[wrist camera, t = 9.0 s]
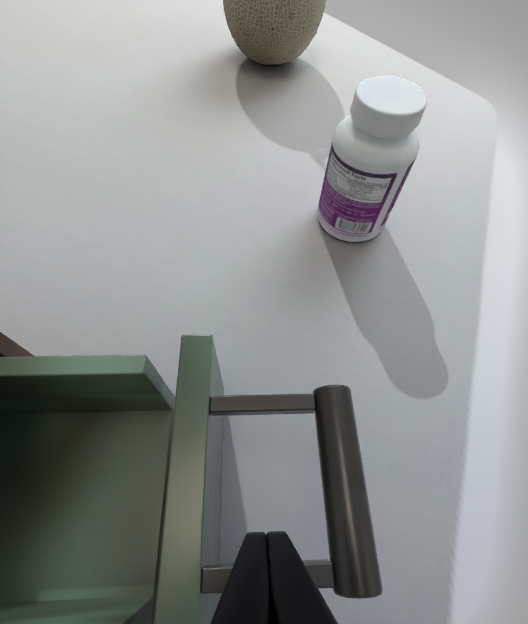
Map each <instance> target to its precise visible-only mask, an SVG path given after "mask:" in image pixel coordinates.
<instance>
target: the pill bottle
mask: <svg viewBox="0 0 528 624" xmlns="http://www.w3.org/2000/svg"><path fill="white" fill-rule="evenodd" d="M426 104H427V96H426V94H425V92H424V91H423V90H422V88H420V87H419V86H418V85H417V84H415V83H413V82H411V81H409V80H406V79H404V78H400V77H395V76H374V77H370V78H367V79H365V80H363V81H362V82H360V83H359V85H358V86H357V88H356V91H355V95H354V98H353V102H352V105H351V108H350V112H351V114H350V115H348V116H347V117H345V118H344V119H343V120H342V121H341V122H340V123H339V125H338V126H337V128H336V130H335V133H334V136H333V139H332V145H331V149H330V154H329V158H328V163H327V167H326V172H325V177H324V182H323V186H322V191H321V195H320V200H319V206H318V219H319V221H320V223H321V225H322V227H323V228H324V229H325V230H326V231H327V232H328V233H329V234H330V235H332V236H334V237H335V238H337V239H340V240H344V241H349V242H360V241H367V240H369V239H372V238H374V237H375V236H377V235H378V234H379V233H380V232H381V230H382V229H383V227H384V225H385V223H386V221H387V219H388V217H389V214H390V212H391V210H392V208H393V206H394V204H395V202H396V200H397V197H398V195H399V193H400V191H401V189H402V187H403V184H404V182H405V180H406V178H407V176H408V174H409V172H410V170H411V167H412V165H413V163H414V161H415V159H416V157H417V154H418V150H419V137H418V134H417V131H416V129H415V128H416V127H417V126H418V124H419V123H420V120H421V117H422V115H423V113H424V110H425V107H426Z"/></svg>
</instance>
